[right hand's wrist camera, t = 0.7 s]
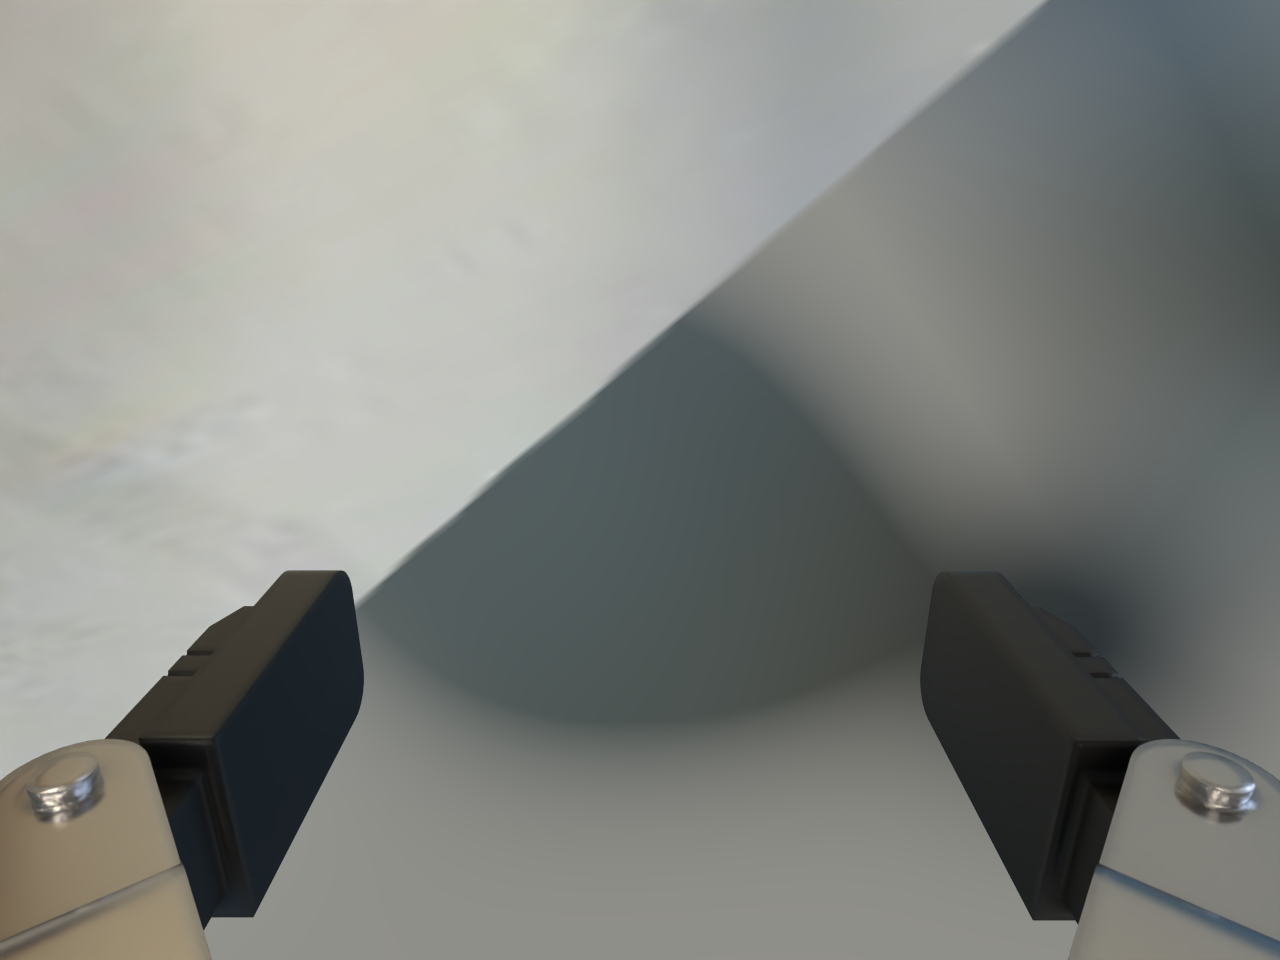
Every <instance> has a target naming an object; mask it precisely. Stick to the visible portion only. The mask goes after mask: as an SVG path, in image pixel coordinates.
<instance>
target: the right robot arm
mask: <svg viewBox="0 0 1280 960" xmlns="http://www.w3.org/2000/svg"><path fill="white" fill-rule="evenodd" d="M920 683H921V695H922V701H923V706H924V709H925V712H926V715H927V717H928V720H929V721H930V723H931V725H932V727H933V729H934V731H935V733H936V735H937V737H938V739H939V741H940V743H941V745H942V747H943V748H944V750H945V752H946V754H947V756H948V758H949V760H950V762H951V764H952V766H953V768H954V770H955V771H956V773H957V775H958V777H959V779H960V781H961V783H962V785H963V787H964V789H965V791H966V793H967V795H968V796H969V798H970V800H971V802H972V804H973V806H974V808H975V810H976V812H977V814H978V816H979V818H980V819H981V821H982V823H983V825H984V827H985V829H986V831H987V833H988V835H989V837H990V839H991V841H992V843H993V844H994V846H995V848H996V850H997V852H998V854H999V856H1000V858H1001V860H1002V862H1003V864H1004V866H1005V867H1006V869H1007V871H1008V873H1009V875H1010V877H1011V879H1012V881H1013V883H1014V885H1015V887H1016V889H1017V891H1018V892H1019V894H1020V896H1021V898H1022V900H1023V902H1024V904H1025V906H1026V908H1027V910H1028V912H1029V914H1030V915H1031V917H1032V919H1033V920H1076V922H1077V924H1078V927H1077V931H1076V934H1075V938H1074V941H1073V944H1072V947H1071V951H1070V954H1069V957H1068V960H1280V781H1279V780H1278V779H1277V778H1276V777H1274V776H1273V775H1272V774H1270V773H1269V772H1267V771H1266V770H1264V769H1263V768H1261V767H1259V766H1258V765H1256V764H1254V763H1252V762H1250V761H1249V760H1247V759H1245V758H1242V757H1240V756H1238V755H1236V754H1234V753H1231V752H1228V751H1226V750H1223V749H1221V748H1218V747H1214V746H1211V745H1207V744H1204V743H1199V742H1194V741H1188V740H1181V739H1180V738H1179V737H1178V736H1177V735H1176V734H1175V733H1174V732H1173V731H1172V730H1171V729H1170V728H1169V727H1168V725H1167V724H1166V723H1165V722H1164V721H1163V720H1162V719H1161V718H1160V717H1159V716H1158V715H1157V714H1156V713H1155V712H1154V711H1153V709H1152V708H1151V707H1150V706H1149V705H1148V704H1147V703H1146V702H1145V701H1144V700H1143V699H1142V698H1141V697H1140V696H1139V695H1138V694H1137V692H1136V691H1135V690H1134V689H1133V688H1132V687H1131V686H1130V685H1129V684H1128V683H1127V682H1126V681H1125V680H1124V679H1123V678H1118V672H1117V671H1116V670H1115V669H1114V668H1113V667H1112V666H1111V665H1110V664H1109V663H1108V662H1107V661H1106V660H1105V659H1104V658H1103V657H1099V652H1098V651H1097V650H1096V649H1095V648H1094V647H1093V646H1092V645H1091V644H1090V643H1089V642H1088V640H1087V639H1086V638H1085V637H1084V636H1083V635H1082V634H1081V633H1080V632H1079V631H1078V630H1077V629H1076V628H1075V627H1073V626H1071V625H1070V624H1068V623H1066V622H1064V621H1063V620H1061V619H1059V618H1058V617H1056V616H1054V615H1052V614H1051V613H1049V612H1047V611H1046V610H1044V609H1042V608H1031V607H1030V605H1029V604H1028V603H1027V602H1026V601H1025V600H1024V599H1023V598H1022V596H1021V595H1020V594H1019V593H1018V592H1017V591H1016V590H1015V589H1014V587H1013V586H1012V585H1011V584H1010V583H1009V582H1008V581H1007V579H1006V578H1005V577H1004V576H1003V575H1002V574H1001V573H999V572H941V573H939V574H938V576H937V577H936V579H935V582H934V585H933V590H932V596H931V603H930V610H929V617H928V624H927V631H926V638H925V645H924V652H923V659H922V666H921V677H920ZM363 686H364V671H363V662H362V655H361V649H360V641H359V634H358V627H357V620H356V613H355V606H354V599H353V592H352V586H351V582H350V579H349V577H348V575H347V574H346V573H345V572H344V571H286V572H284V573H283V574H282V575H281V576H280V577H279V578H278V579H277V580H276V581H275V583H274V584H273V585H272V586H271V587H270V588H269V589H268V591H267V592H266V593H265V594H264V595H263V596H262V597H261V599H260V600H259V601H258V602H257V603H256V604H255V605H254V606H244V607H242V608H240V609H239V610H237V611H235V612H234V613H232V614H230V615H228V616H227V617H225V618H223V619H222V620H220V621H218V622H217V623H215V624H213V625H211V626H210V627H209V628H208V629H207V630H206V631H205V632H204V633H203V634H202V635H201V636H200V637H199V638H198V639H197V641H196V642H195V643H194V644H193V645H192V646H191V647H190V648H189V649H188V650H187V655H186V656H182V657H181V658H180V659H179V660H178V661H177V662H176V663H175V664H174V665H173V666H172V667H171V668H170V669H169V670H168V676H163V677H162V678H161V679H160V680H159V681H158V682H157V683H156V684H155V685H154V687H153V688H152V689H151V690H150V691H149V692H148V693H147V694H146V695H145V696H144V697H143V698H142V699H141V700H140V702H139V703H138V704H137V705H136V706H135V707H134V708H133V709H132V710H131V711H130V712H129V713H128V714H127V715H126V717H125V718H124V719H123V720H122V721H121V722H120V723H119V724H118V725H117V726H116V727H115V728H114V729H113V730H112V732H111V733H110V734H109V735H108V736H107V737H106V738H105V739H100V740H92V741H86V742H81V743H76V744H73V745H69V746H66V747H62V748H59V749H57V750H54V751H51V752H49V753H46V754H44V755H42V756H40V757H38V758H35V759H33V760H31V761H30V762H28V763H26V764H24V765H22V766H21V767H19V768H17V769H16V770H14V771H13V772H11V773H10V774H8V775H7V776H6V777H4V778H3V779H2V780H1V781H0V960H212V957H211V954H210V951H209V947H208V944H207V941H206V937H205V934H204V929H205V927H206V926H207V924H208V922H209V920H210V919H211V917H254V915H255V913H256V911H257V909H258V907H259V905H260V903H261V901H262V899H263V897H264V895H265V894H266V892H267V890H268V888H269V886H270V884H271V882H272V880H273V878H274V876H275V874H276V872H277V870H278V868H279V866H280V864H281V862H282V861H283V859H284V857H285V855H286V853H287V851H288V849H289V847H290V845H291V843H292V841H293V839H294V837H295V835H296V833H297V831H298V829H299V827H300V826H301V824H302V822H303V820H304V818H305V816H306V814H307V812H308V810H309V808H310V806H311V804H312V802H313V800H314V798H315V796H316V794H317V793H318V791H319V789H320V787H321V785H322V783H323V781H324V779H325V777H326V775H327V773H328V771H329V769H330V767H331V765H332V763H333V761H334V759H335V757H336V756H337V754H338V752H339V750H340V748H341V746H342V744H343V742H344V740H345V738H346V736H347V734H348V732H349V730H350V728H351V726H352V724H353V723H354V721H355V719H356V716H357V714H358V712H359V709H360V705H361V701H362V695H363Z"/></svg>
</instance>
